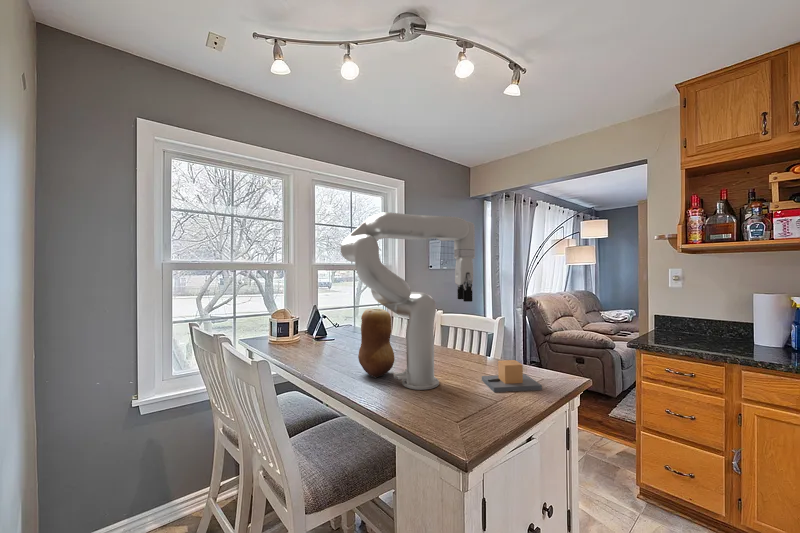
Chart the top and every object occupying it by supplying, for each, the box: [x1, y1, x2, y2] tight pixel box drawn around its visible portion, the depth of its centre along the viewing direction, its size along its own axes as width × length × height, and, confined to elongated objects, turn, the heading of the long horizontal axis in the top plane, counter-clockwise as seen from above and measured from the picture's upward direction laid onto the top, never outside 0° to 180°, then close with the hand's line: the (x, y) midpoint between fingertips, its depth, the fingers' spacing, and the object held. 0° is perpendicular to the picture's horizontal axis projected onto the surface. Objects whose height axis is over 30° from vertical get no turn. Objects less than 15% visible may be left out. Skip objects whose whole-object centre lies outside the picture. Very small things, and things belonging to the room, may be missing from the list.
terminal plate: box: [481, 373, 543, 393], centre depth 119 cm, size 16×12×6 cm
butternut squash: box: [358, 308, 395, 378], centre depth 132 cm, size 14×13×25 cm
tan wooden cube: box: [497, 359, 524, 384], centre depth 119 cm, size 6×6×6 cm
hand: (464, 300), depth 132 cm, fingers open, 9 cm apart
